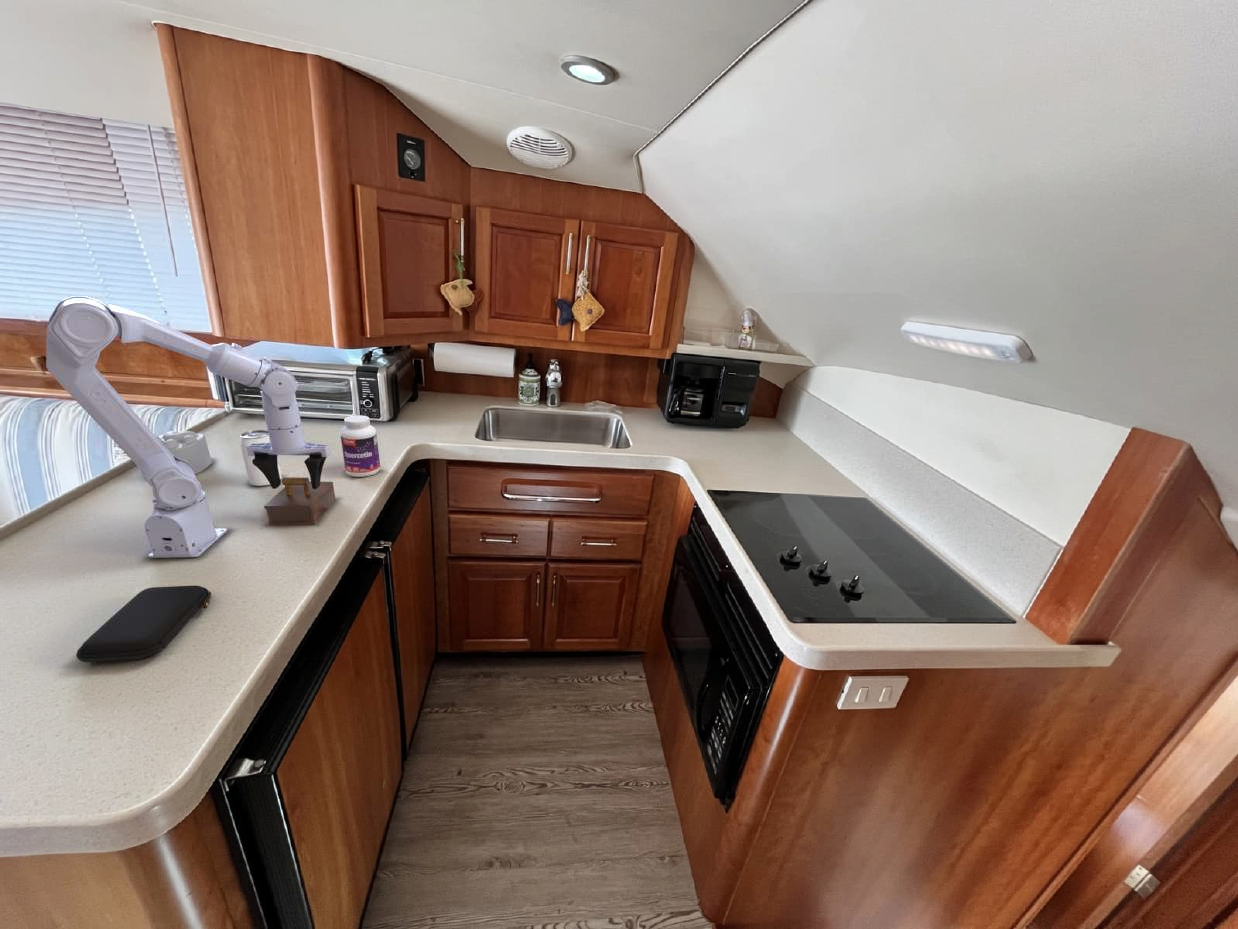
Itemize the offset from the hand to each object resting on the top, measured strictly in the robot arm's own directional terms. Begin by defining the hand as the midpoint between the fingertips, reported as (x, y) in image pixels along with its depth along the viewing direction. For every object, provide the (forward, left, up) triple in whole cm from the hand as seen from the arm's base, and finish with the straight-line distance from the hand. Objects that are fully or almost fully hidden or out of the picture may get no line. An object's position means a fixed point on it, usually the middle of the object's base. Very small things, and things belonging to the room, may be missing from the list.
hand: (296, 486), depth 102 cm
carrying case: (-35, +6, -7) cm, 36 cm away
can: (+16, +15, -7) cm, 23 cm away
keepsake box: (+1, 0, -6) cm, 7 cm away
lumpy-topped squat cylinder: (+22, +37, -7) cm, 43 cm away
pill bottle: (+22, -5, -7) cm, 24 cm away
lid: (+1, 0, -3) cm, 3 cm away
